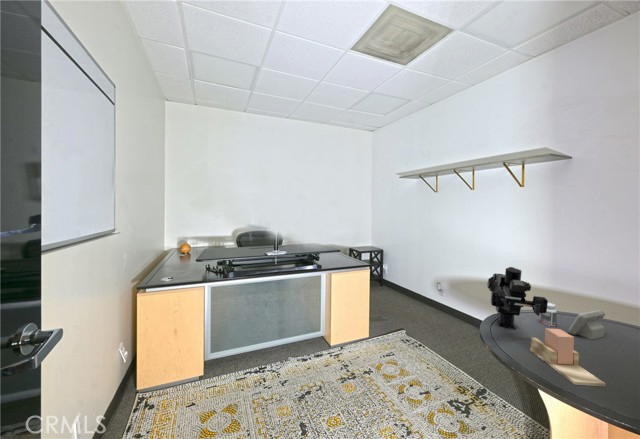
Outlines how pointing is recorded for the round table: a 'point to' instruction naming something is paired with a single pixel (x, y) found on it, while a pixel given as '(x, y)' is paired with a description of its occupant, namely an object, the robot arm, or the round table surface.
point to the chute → (564, 365)
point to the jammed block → (560, 345)
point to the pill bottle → (549, 315)
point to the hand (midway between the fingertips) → (523, 312)
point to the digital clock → (588, 325)
